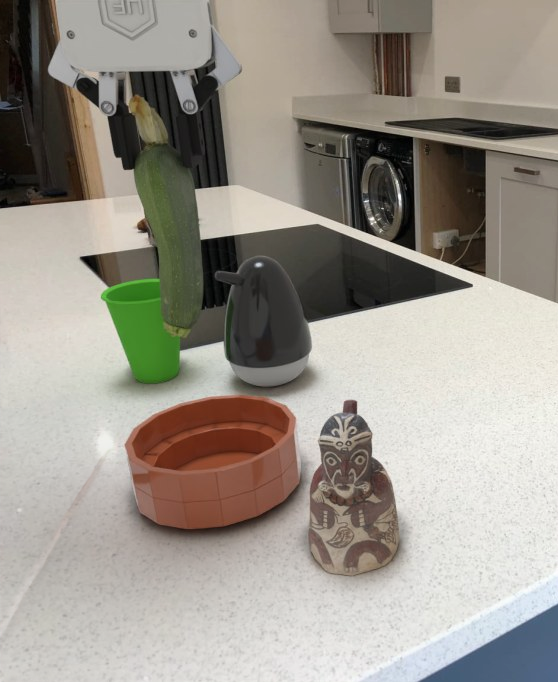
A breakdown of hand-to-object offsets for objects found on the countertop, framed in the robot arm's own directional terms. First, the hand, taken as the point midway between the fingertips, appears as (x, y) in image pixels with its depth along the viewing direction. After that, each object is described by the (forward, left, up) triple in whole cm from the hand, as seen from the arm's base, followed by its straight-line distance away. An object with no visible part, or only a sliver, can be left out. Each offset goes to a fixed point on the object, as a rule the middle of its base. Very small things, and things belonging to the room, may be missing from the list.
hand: (162, 164), depth 58 cm
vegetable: (0, 0, -15) cm, 15 cm away
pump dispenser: (+3, +22, -29) cm, 37 cm away
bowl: (+1, -2, -29) cm, 29 cm away
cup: (-11, +25, -29) cm, 40 cm away
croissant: (-28, +108, -29) cm, 115 cm away
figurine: (+13, -12, -29) cm, 34 cm away
